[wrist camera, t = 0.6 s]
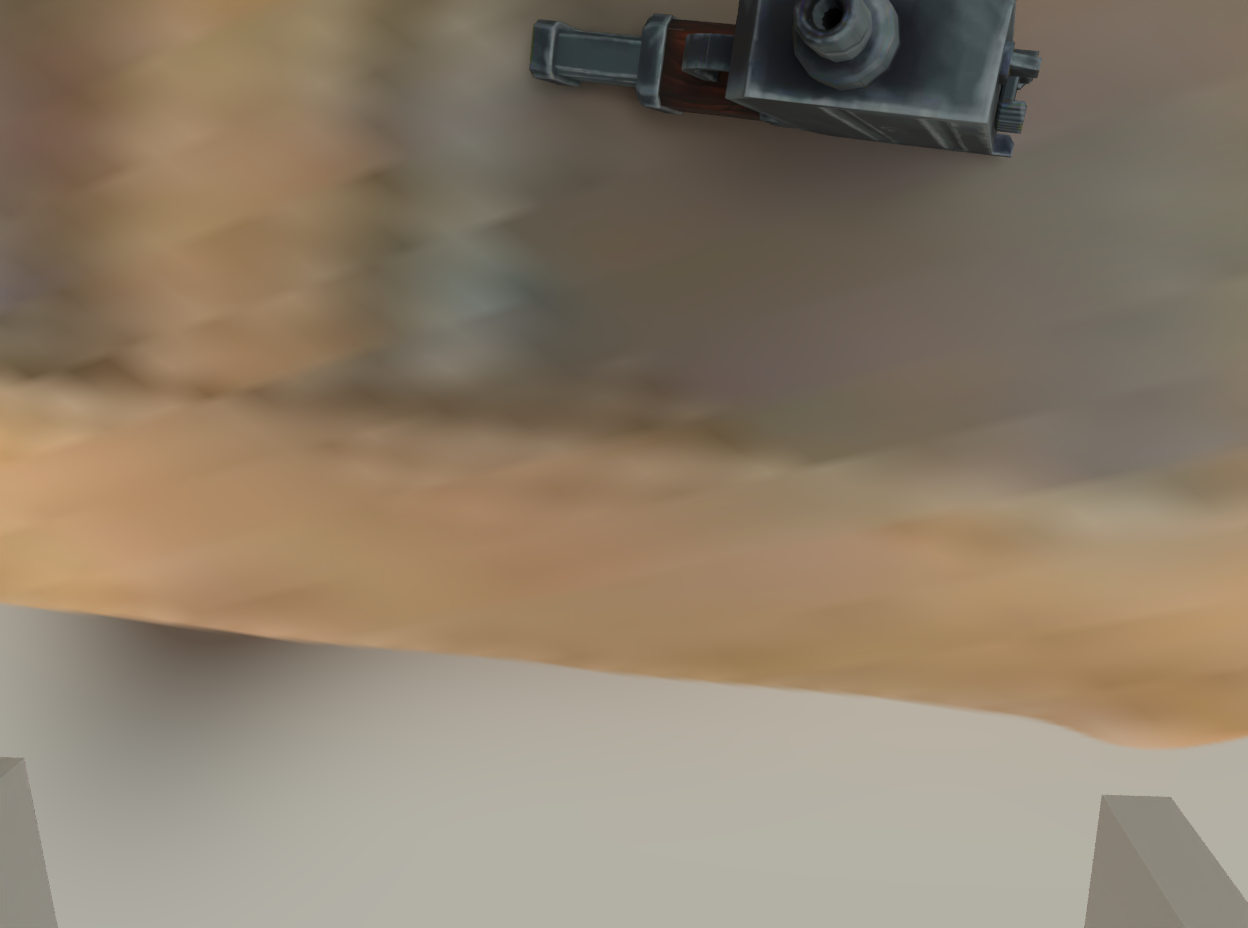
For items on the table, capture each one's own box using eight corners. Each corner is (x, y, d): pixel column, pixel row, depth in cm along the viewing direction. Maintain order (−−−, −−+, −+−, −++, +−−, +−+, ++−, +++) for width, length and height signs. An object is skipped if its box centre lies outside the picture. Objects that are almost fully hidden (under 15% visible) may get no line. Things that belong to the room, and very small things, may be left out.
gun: (304, -105, 21) (1070, -59, 17) (595, 27, 37) (1036, 69, 32) (300, 33, 22) (1030, 112, 18) (586, 106, 37) (1016, 158, 33)
